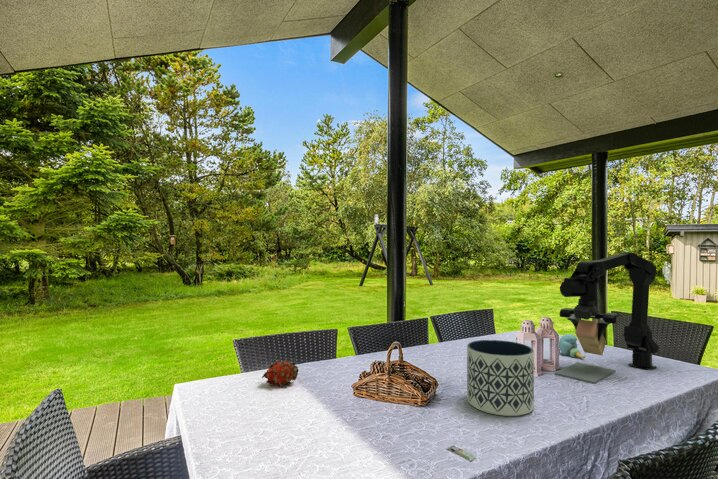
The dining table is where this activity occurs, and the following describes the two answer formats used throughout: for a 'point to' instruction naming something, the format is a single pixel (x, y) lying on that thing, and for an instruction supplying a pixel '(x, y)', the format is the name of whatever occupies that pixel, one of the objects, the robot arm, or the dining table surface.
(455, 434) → the dining table surface
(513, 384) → the planter
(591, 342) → the oak block
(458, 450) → the granola bar
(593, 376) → the charcoal mat
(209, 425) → the dining table surface
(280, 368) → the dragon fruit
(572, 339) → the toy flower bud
